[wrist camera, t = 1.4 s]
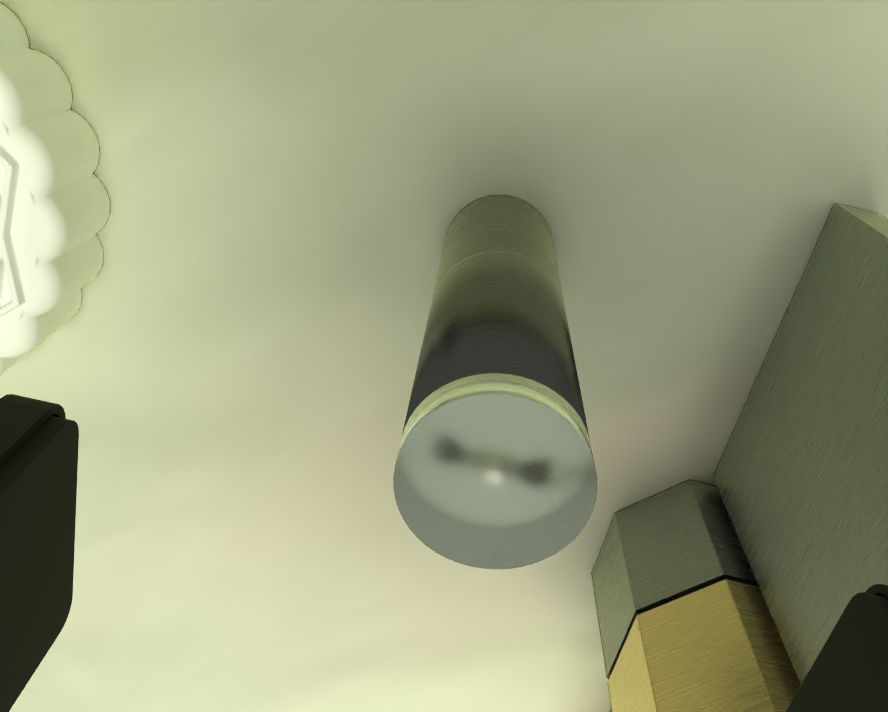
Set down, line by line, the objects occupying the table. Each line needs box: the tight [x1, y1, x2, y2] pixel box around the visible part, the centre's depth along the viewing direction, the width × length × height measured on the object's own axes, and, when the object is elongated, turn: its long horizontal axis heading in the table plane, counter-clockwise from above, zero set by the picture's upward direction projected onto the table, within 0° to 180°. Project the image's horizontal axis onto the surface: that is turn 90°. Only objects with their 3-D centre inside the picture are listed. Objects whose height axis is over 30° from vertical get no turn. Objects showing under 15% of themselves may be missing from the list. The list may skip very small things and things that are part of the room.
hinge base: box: [591, 203, 888, 684], centre depth 21 cm, size 6×16×9 cm, turn 167°
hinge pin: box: [394, 195, 597, 569], centre depth 17 cm, size 3×3×12 cm
